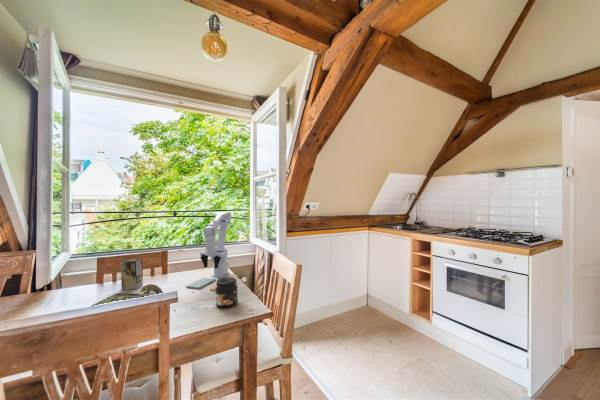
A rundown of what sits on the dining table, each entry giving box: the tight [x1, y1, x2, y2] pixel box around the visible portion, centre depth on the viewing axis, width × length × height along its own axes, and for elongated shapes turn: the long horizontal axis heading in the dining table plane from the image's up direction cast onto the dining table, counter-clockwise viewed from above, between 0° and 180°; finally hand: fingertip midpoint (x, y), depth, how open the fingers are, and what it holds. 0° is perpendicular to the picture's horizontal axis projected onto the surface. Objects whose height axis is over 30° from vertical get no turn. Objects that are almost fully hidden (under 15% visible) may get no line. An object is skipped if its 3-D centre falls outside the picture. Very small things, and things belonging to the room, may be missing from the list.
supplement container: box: [214, 276, 239, 309], centre depth 123 cm, size 10×10×12 cm
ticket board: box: [186, 277, 216, 290], centre depth 152 cm, size 15×9×1 cm, turn 163°
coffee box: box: [120, 258, 144, 290], centre depth 148 cm, size 9×6×16 cm
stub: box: [209, 276, 226, 292], centre depth 147 cm, size 15×5×5 cm, turn 163°
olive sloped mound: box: [90, 283, 164, 306], centre depth 128 cm, size 33×8×20 cm
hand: (211, 267), depth 154 cm, fingers open, 7 cm apart
